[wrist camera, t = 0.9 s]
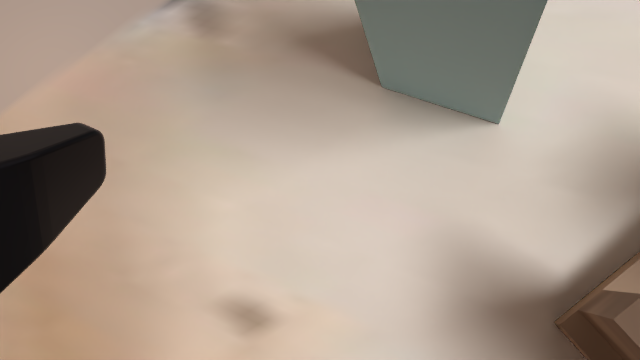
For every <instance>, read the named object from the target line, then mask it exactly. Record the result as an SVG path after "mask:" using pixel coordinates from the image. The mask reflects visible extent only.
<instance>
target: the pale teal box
mask: <svg viewBox="0 0 640 360" xmlns="http://www.w3.org/2000/svg"><path fill="white" fill-rule="evenodd" d="M355 3H356V6H357V9H358V12H359V16H360V19H361V22H362V25H363V28H364V32H365V35H366V38H367V41H368V44H369V48H370V51H371V54H372V57H373V60H374V64H375V67H376V70H377V73H378V76H379V80H380V83H381V86H382V87H383V88H386V89H389V90H392V91H396V92H399V93H402V94H405V95H408V96H411V97H415V98H418V99H421V100H424V101H427V102H430V103H433V104H437V105H440V106H443V107H446V108H449V109H452V110H456V111H459V112H462V113H465V114H468V115H471V116H475V117H478V118H481V119H484V120H487V121H490V122H493V123H497V124H499V122H500V119H501V117H502V114H503V112H504V109H505V107H506V104H507V102H508V99H509V97H510V94H511V92H512V89H513V87H514V84H515V81H516V79H517V76H518V74H519V71H520V69H521V66H522V64H523V61H524V59H525V56H526V54H527V51H528V48H529V46H530V43H531V41H532V38H533V36H534V33H535V31H536V28H537V26H538V23H539V21H540V18H541V15H542V13H543V10H544V8H545V5H546V3H547V0H355Z"/></svg>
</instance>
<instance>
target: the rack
mask: <svg viewBox="0 0 640 360" xmlns="http://www.w3.org/2000/svg"><path fill="white" fill-rule="evenodd" d="M554 323H555V324H556V325H557V326H558V327H559V329H560V330H561V331H562V332H563V333H564V334H565V335H566V336H567V337H568V339H569V340H570V341H571V342H572V343H573V344H574V345H575V346H576V348H577V349H578V350H579V351H580V352H581V353H582V354H583V355H584V356H585V358H586V359H587V360H640V252H639V253H637V254H636V255H635V256H634V257H633V258H631V259H630V260H629V261H628V262H627V263H625V264H624V265H623V266H622V267H620V268H619V269H618V270H617V271H616V272H614V273H613V274H612V275H611V276H610V277H608V278H607V279H606V280H605V281H603V282H602V283H601V284H600V285H599V286H597V287H596V288H595V289H594V290H592V291H591V292H590V293H589V294H588V295H586V296H585V297H584V298H583V299H582V300H580V301H579V302H578V303H577V304H575V305H574V306H573V307H572V308H571V309H569V310H568V311H567V312H566V313H565V314H563V315H562V316H561V317H560V318H558V319H557V320H556V321H555V322H554Z"/></svg>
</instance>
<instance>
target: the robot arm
mask: <svg viewBox="0 0 640 360" xmlns="http://www.w3.org/2000/svg"><path fill="white" fill-rule="evenodd" d="M105 176H106V159H105V141H104V137H103V135H102V133H101V132H100V131H98V130H96V129H94V128H92V127H89V126H87V125H85V124H81V123H73V124H67V125H60V126H54V127H48V128H41V129H35V130H29V131H22V132H16V133H10V134H3V135H0V293H1V292H2V291H3V290H4V289H5V288H6V287H8V286H9V285H10V284H11V283H12V282H13V281H14V280H15V279H16V278H17V277H18V276H19V275H20V274H21V273H22V272H23V271H24V270H26V269H27V268H28V267H29V266H30V265H31V264H32V263H33V262H34V261H35V260H36V259H37V258H38V257H39V256H40V255H41V254H42V253H43V252H44V251H45V250H46V249H47V248H48V247H49V245H50V244H51V243H52V242H53V241H54V240H55V239H56V238H57V236H58V235H59V234H60V233H61V232H62V231H63V229H64V228H65V227H66V226H67V225H68V224H69V223H70V221H71V220H72V219H73V218H74V217H75V216H76V214H77V213H78V212H79V211H80V210H81V209H82V207H83V206H84V205H85V204H86V203H87V202H88V201H89V199H90V198H91V197H92V196H93V195H94V194H95V192H96V191H97V190H98V189H99V188H100V186H101V185H102V183H103V181H104V179H105Z"/></svg>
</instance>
